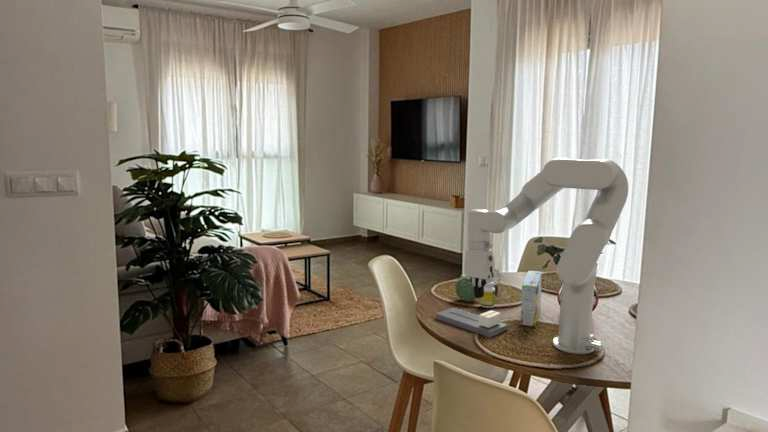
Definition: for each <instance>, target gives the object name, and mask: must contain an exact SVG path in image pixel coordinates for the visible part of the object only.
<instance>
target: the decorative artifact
mask: <svg viewBox="0 0 768 432" xmlns="http://www.w3.org/2000/svg"><path fill="white" fill-rule="evenodd" d="M454 291H455V294H456V296H457V298H459V299H460V300H461V301H463V302H472V301H475V300H476V299H477V298H475V297H474V286H473V285H472V282H471V280H469V279H467V278H466V275H463V276H461V277H460V278H458V279H457V280H456V282H455V284H454Z"/></svg>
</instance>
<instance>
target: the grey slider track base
mask: <svg viewBox="0 0 768 432" xmlns="http://www.w3.org/2000/svg"><path fill="white" fill-rule="evenodd" d="M479 315H480V314H475V313H472V312H469V311H466V310H463V309H460V308H457V307H451V308H447V309H445V310H441V311H438V312H436V313H435V319H436V320H437V321H438V320H439V321H441V322H445V323H447V324H450V325H453V326H456V327H459V328H462V329H464V330H467V331H470V332H473V333H475V334H478V333H479V335H481V334H482V335H481V336H484V335H485V336H484V337H487V336H488V337H487V338H490V337H491V338H493V337H495V336H497V334H498V335H500V334H502V333H504V332H503V331H505V330H507V329H508V327H509V326H508V324H507V323H504V322H501V323H499V324H496V325H494V326H492V327H489V328H487V327H484V326H481V325H479ZM507 331H508V330H507ZM501 332H502V333H501ZM505 332H506V331H505ZM499 333H500V334H499ZM494 335H495V336H494ZM492 336H493V337H492Z"/></svg>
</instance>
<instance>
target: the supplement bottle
mask: <svg viewBox="0 0 768 432" xmlns="http://www.w3.org/2000/svg"><path fill="white" fill-rule="evenodd" d="M494 283H495V282H494V281H493V282H491V283H487V284H486V285H485V286H484V296H483V297H481V298H480V302H479V303H480V306H481V307H482V308H486V309H491V308H494V307H495V298H496V297H495V296H496V294H495V288H494V287H493V286H494Z"/></svg>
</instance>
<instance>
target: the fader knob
mask: <svg viewBox="0 0 768 432" xmlns="http://www.w3.org/2000/svg"><path fill="white" fill-rule="evenodd" d="M478 315H479V325H481V326H484V327H487V328H489V327H492V326H494V325H496V324H499V323H502V322H501V319H502V313H501V312H499V311H495V310H488V311H486V312H483V313H480V314H478Z"/></svg>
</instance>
